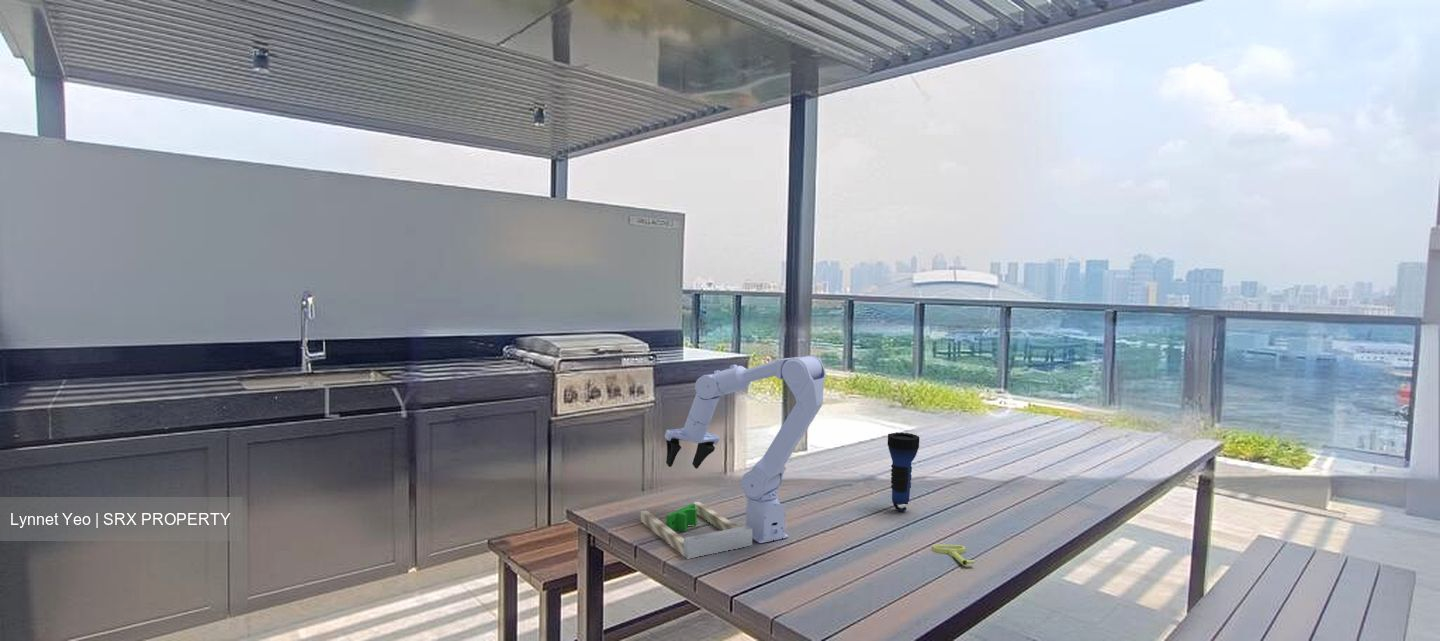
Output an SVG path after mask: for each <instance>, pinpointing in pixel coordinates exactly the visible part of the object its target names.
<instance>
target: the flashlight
mask: <svg viewBox="0 0 1440 641" xmlns="http://www.w3.org/2000/svg"><path fill="white" fill-rule="evenodd" d="M887 446H888V448H887V449H888V452H889V454H890V457H891V460H892V464H891V469H890V471H891V473H890V476H891V477H890V479H891V480H890V483H891V486H890V488H891V502H892V504H893V507H894V508H895V510H897V511H898V512H905V511H907V507H906V506H904V507H899V506H898V505H909V502H910V494H911V487H912V482H911V481H912V472H913V469H912V468H913V466H912V462H913V461H914V459H915V458H916V456H917V454H918V451H919V449H920V436H919V435H917V434H914V433H909V432H893V433H891V432H890V433H888V434H887Z"/></svg>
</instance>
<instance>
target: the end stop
mask: <svg viewBox="0 0 1440 641" xmlns="http://www.w3.org/2000/svg"><path fill="white" fill-rule="evenodd" d="M683 538H684V556H685V557H686V558H688V559H689V558H693V557H696V556H701V555H707V554H712V553H717V554H719V553H718V552H722V551H726V552H729V551H728V550H731V551H734V550H733V549H736V550H739V549H738V548H741V549H743V548H742V547H745V548H747V547H746V546H750V545H752V546H753V539H752V528H751V527H749V526H746V525H742V526H739V527H737V528H732V529H727V530H722V531H721V530H718V531H712V532H707V533H702V534H697V535H693V536H692V535H691V536H687V537H683ZM750 547H751V546H750ZM722 553H723V552H722ZM712 555H713V554H712ZM684 556H683V557H684ZM685 557H684V558H685ZM686 558H685V559H686ZM688 559H687V560H688ZM689 560H690V559H689Z"/></svg>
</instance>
